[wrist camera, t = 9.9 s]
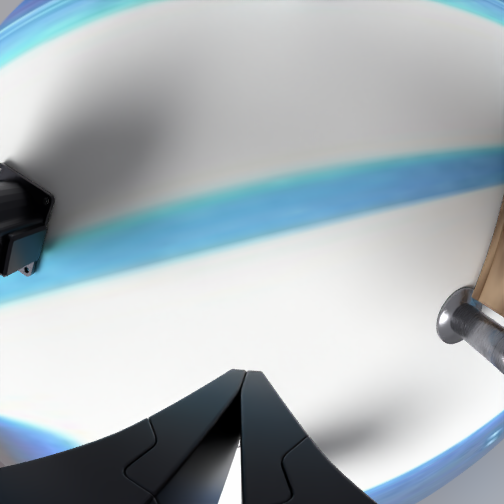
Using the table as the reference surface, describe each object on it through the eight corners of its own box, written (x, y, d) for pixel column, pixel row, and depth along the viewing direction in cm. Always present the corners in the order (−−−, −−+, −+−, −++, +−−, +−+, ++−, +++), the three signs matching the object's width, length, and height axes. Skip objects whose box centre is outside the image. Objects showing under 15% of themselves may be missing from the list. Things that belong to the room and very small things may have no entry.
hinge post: (426, 330, 21) (509, 412, 10) (459, 277, 20) (559, 337, 10) (456, 348, 22) (529, 420, 11) (486, 301, 21) (570, 358, 10)
